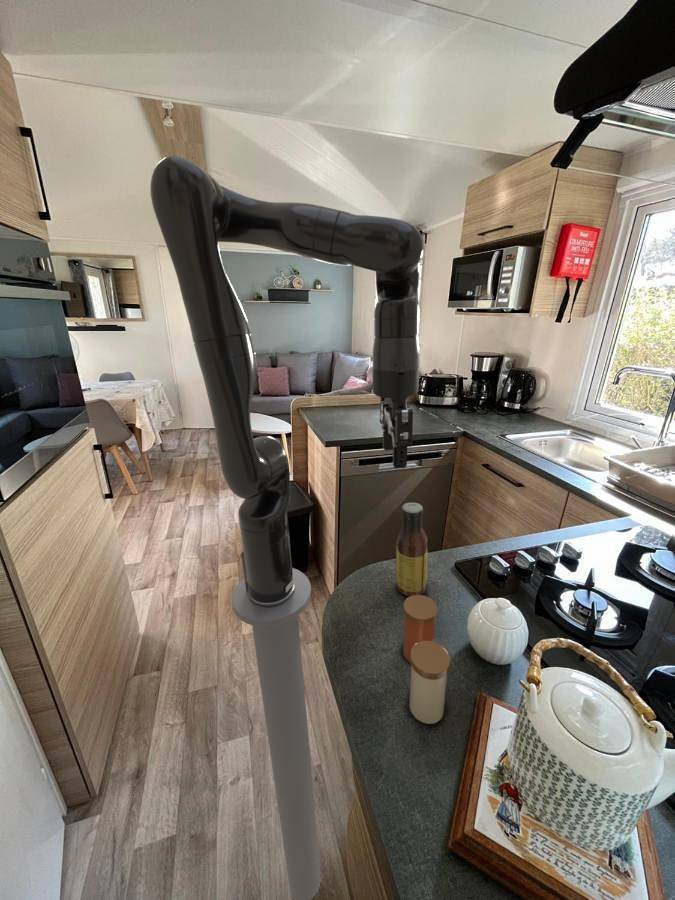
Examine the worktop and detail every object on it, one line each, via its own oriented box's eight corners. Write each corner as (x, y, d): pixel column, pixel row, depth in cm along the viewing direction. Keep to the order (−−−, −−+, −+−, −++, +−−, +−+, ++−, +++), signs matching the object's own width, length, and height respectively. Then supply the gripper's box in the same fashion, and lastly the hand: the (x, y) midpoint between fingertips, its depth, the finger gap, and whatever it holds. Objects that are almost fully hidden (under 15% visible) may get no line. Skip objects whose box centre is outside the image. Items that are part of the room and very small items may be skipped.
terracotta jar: (396, 656, 65) (397, 610, 61) (410, 635, 69) (412, 590, 66) (426, 672, 62) (429, 624, 58) (438, 649, 66) (442, 603, 63)
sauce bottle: (411, 574, 85) (415, 495, 78) (432, 590, 80) (438, 507, 73) (389, 586, 81) (390, 504, 74) (409, 603, 76) (412, 518, 69)
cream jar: (401, 711, 56) (403, 660, 53) (417, 683, 60) (420, 634, 57) (436, 733, 53) (441, 680, 50) (450, 702, 57) (455, 651, 54)
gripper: (366, 360, 68) (366, 445, 74) (381, 373, 55) (380, 475, 60) (407, 358, 69) (404, 443, 74) (432, 370, 55) (426, 472, 61)
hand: (394, 457), depth 67 cm, fingers open, 8 cm apart
